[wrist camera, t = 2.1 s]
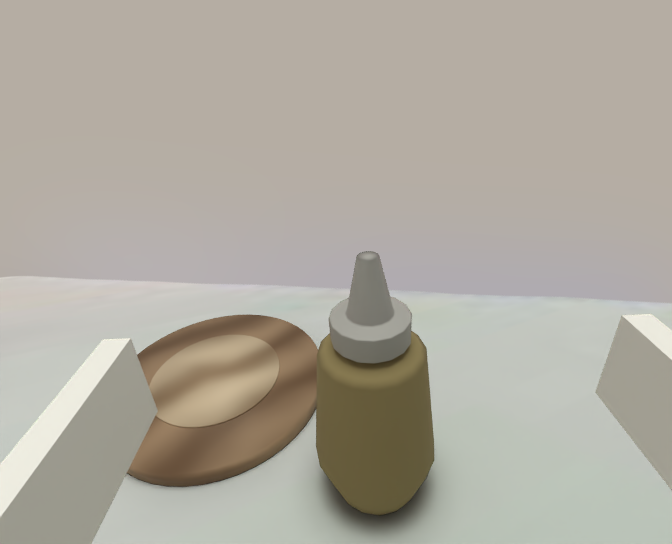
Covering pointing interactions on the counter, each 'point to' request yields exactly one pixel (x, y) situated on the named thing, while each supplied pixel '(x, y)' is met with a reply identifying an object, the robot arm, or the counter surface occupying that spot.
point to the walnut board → (224, 398)
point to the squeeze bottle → (373, 397)
